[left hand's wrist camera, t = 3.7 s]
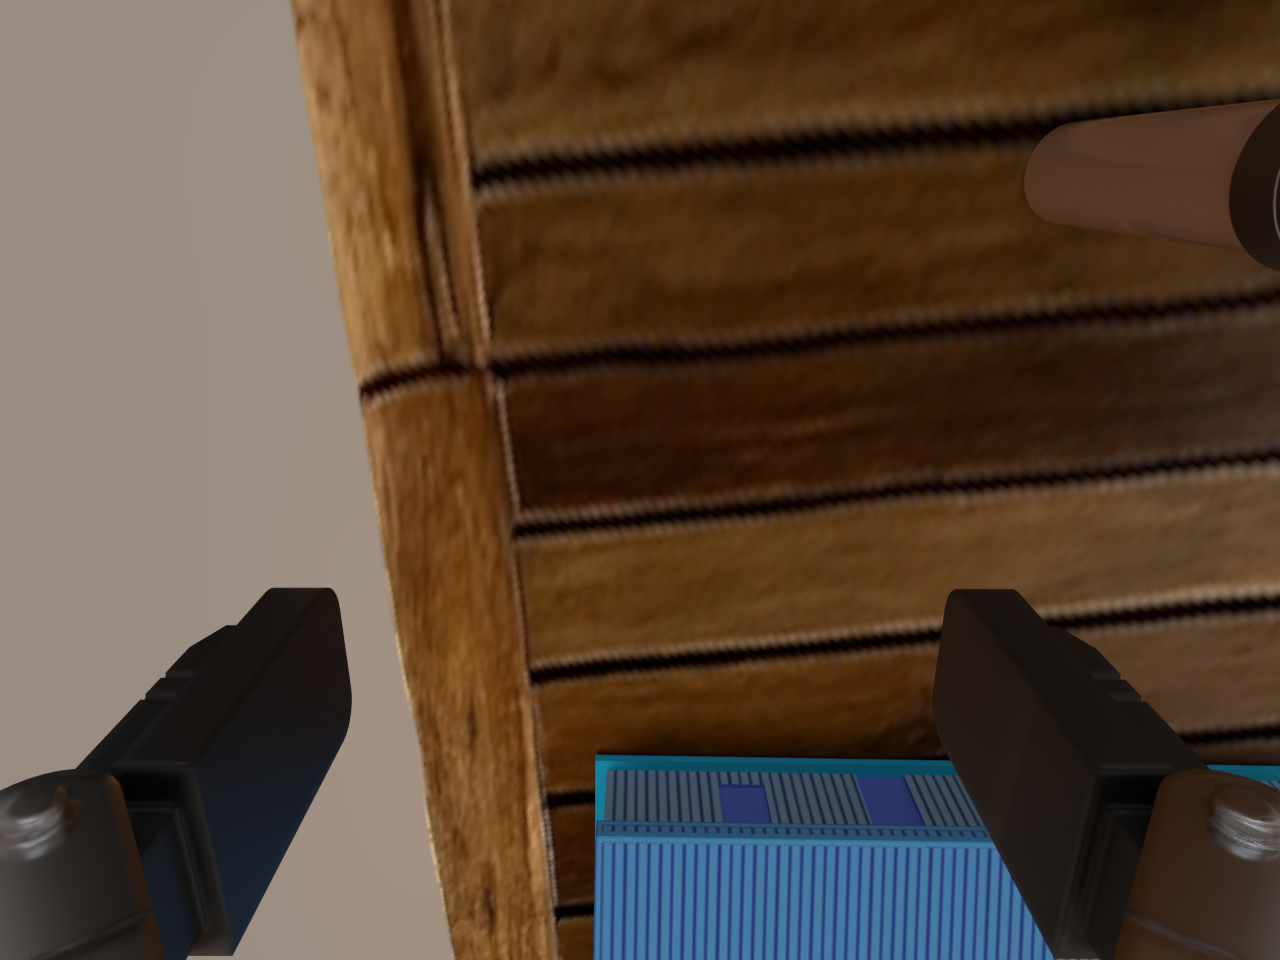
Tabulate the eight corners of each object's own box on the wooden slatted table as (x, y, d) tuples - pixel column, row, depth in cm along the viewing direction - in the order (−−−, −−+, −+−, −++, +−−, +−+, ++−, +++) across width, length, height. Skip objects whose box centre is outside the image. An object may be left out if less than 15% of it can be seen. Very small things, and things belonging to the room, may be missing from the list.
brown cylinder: (1141, 138, 36) (1501, 116, 21) (1095, 237, 38) (1400, 284, 22) (1049, 107, 36) (1350, 63, 21) (1006, 209, 37) (1257, 238, 22)
